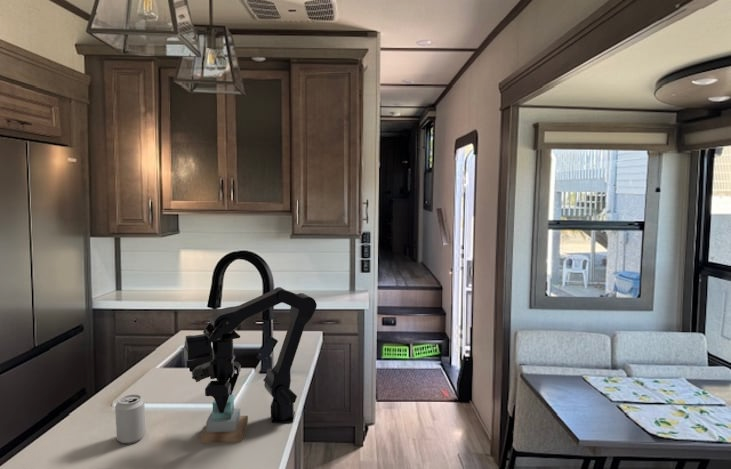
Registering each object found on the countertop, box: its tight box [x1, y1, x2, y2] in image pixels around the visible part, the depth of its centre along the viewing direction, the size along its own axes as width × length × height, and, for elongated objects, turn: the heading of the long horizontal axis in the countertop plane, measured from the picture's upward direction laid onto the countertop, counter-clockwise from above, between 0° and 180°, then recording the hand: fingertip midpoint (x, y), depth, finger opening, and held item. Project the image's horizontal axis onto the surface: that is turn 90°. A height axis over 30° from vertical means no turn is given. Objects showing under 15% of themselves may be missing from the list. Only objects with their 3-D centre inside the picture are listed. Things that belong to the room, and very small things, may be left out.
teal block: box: [212, 394, 235, 420], centre depth 145 cm, size 5×5×5 cm
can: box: [114, 393, 147, 445], centre depth 142 cm, size 8×8×12 cm
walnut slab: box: [200, 415, 249, 444], centre depth 146 cm, size 11×11×3 cm
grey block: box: [205, 408, 241, 432], centre depth 145 cm, size 8×8×3 cm
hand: (224, 406), depth 145 cm, fingers open, 8 cm apart
